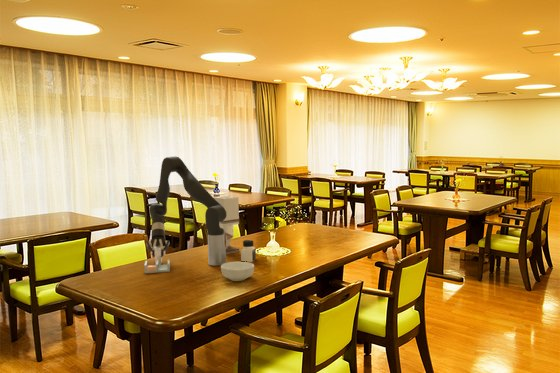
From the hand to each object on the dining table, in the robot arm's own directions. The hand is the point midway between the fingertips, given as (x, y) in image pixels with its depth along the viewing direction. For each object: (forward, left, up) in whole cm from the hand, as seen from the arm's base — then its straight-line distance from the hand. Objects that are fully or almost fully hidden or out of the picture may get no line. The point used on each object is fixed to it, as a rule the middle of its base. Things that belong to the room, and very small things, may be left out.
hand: (158, 256), depth 260 cm
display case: (-26, -39, -5) cm, 47 cm away
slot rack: (-6, +10, -5) cm, 13 cm away
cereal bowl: (-55, +14, -5) cm, 57 cm away
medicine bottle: (-47, -22, -5) cm, 52 cm away
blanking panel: (0, -1, -5) cm, 5 cm away
